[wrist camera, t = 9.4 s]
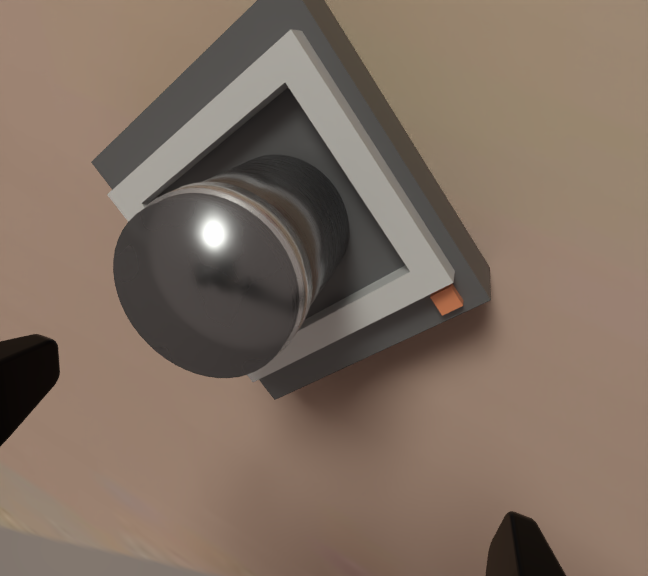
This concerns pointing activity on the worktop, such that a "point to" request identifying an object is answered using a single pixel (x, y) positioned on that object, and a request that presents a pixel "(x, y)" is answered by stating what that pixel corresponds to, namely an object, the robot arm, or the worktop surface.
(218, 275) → the metal can
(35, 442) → the worktop surface
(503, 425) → the worktop surface
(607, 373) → the worktop surface
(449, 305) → the grey recessed tray
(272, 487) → the worktop surface
